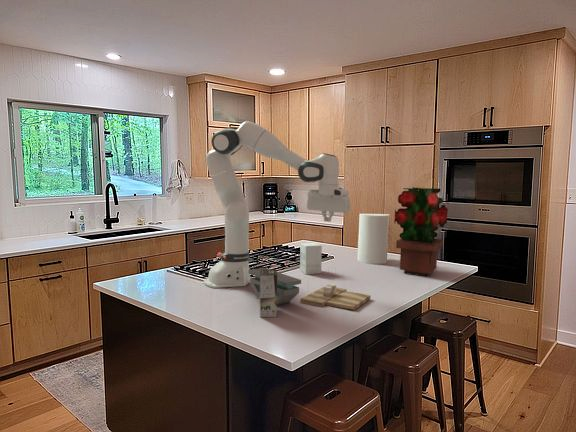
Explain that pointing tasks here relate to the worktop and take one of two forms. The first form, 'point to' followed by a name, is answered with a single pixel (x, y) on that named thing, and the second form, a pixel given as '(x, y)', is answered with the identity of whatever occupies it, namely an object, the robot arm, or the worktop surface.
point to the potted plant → (419, 229)
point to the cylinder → (373, 238)
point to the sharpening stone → (284, 286)
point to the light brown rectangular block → (322, 295)
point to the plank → (348, 300)
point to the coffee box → (268, 292)
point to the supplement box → (310, 258)
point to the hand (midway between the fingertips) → (327, 221)
